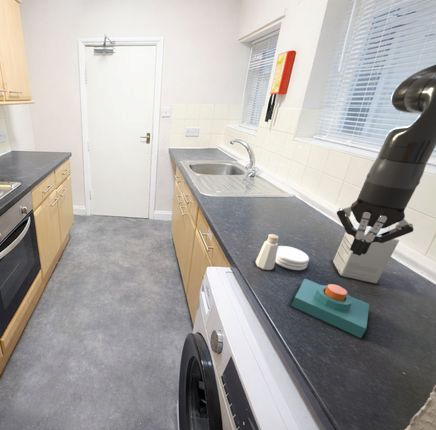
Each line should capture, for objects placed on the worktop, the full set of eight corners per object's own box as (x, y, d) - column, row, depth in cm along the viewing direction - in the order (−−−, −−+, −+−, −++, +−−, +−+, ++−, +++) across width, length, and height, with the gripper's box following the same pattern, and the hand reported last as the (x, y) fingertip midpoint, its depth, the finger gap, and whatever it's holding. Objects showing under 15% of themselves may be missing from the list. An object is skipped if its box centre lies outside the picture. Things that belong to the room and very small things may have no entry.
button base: (364, 312, 67) (373, 297, 65) (360, 338, 60) (370, 322, 58) (301, 286, 76) (306, 272, 74) (291, 306, 69) (297, 291, 67)
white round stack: (298, 275, 81) (302, 265, 80) (265, 259, 88) (268, 250, 87) (311, 264, 87) (315, 255, 85) (279, 250, 94) (282, 242, 92)
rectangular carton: (365, 268, 85) (386, 227, 79) (377, 284, 78) (401, 240, 72) (331, 261, 89) (349, 221, 83) (339, 275, 81) (359, 233, 75)
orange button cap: (345, 295, 66) (348, 289, 65) (343, 303, 64) (346, 297, 63) (325, 288, 69) (328, 281, 68) (323, 295, 66) (326, 289, 65)
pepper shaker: (274, 264, 86) (284, 234, 82) (272, 272, 82) (283, 242, 77) (256, 258, 89) (265, 229, 84) (253, 266, 85) (262, 236, 80)
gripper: (436, 185, 52) (395, 258, 59) (351, 171, 61) (324, 237, 68) (441, 194, 47) (396, 273, 55) (347, 178, 56) (319, 248, 63)
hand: (356, 253), depth 61 cm, fingers closed
